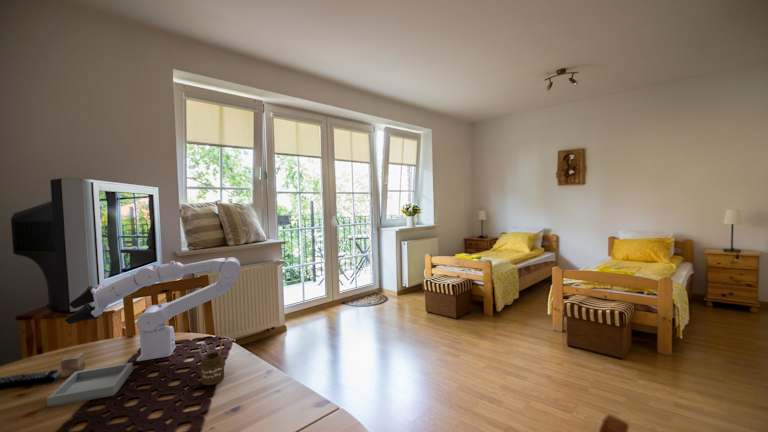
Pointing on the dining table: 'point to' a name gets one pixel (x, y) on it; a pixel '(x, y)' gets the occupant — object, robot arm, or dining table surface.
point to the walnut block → (72, 364)
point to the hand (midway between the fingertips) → (69, 313)
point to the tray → (90, 384)
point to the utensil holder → (212, 367)
